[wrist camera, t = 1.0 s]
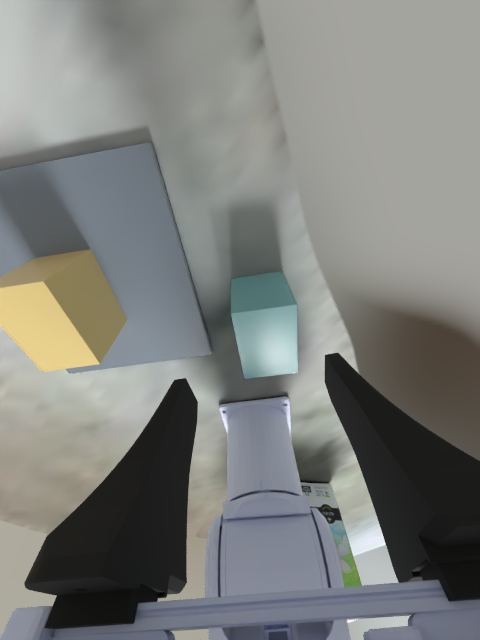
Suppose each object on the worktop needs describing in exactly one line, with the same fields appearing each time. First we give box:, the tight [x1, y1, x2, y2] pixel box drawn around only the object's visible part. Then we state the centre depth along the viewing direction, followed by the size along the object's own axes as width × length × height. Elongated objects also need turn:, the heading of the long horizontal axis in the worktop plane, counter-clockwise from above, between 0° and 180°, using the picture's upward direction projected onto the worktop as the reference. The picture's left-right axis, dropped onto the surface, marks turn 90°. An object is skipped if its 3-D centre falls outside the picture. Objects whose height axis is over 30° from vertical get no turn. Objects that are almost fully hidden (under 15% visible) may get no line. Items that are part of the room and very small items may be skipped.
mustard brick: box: [0, 249, 127, 372], centre depth 16 cm, size 6×4×5 cm, turn 8°
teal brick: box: [231, 271, 298, 379], centre depth 18 cm, size 6×4×5 cm, turn 9°
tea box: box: [300, 482, 362, 623], centre depth 36 cm, size 15×10×15 cm, turn 79°
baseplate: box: [0, 142, 212, 374], centre depth 18 cm, size 16×14×1 cm
